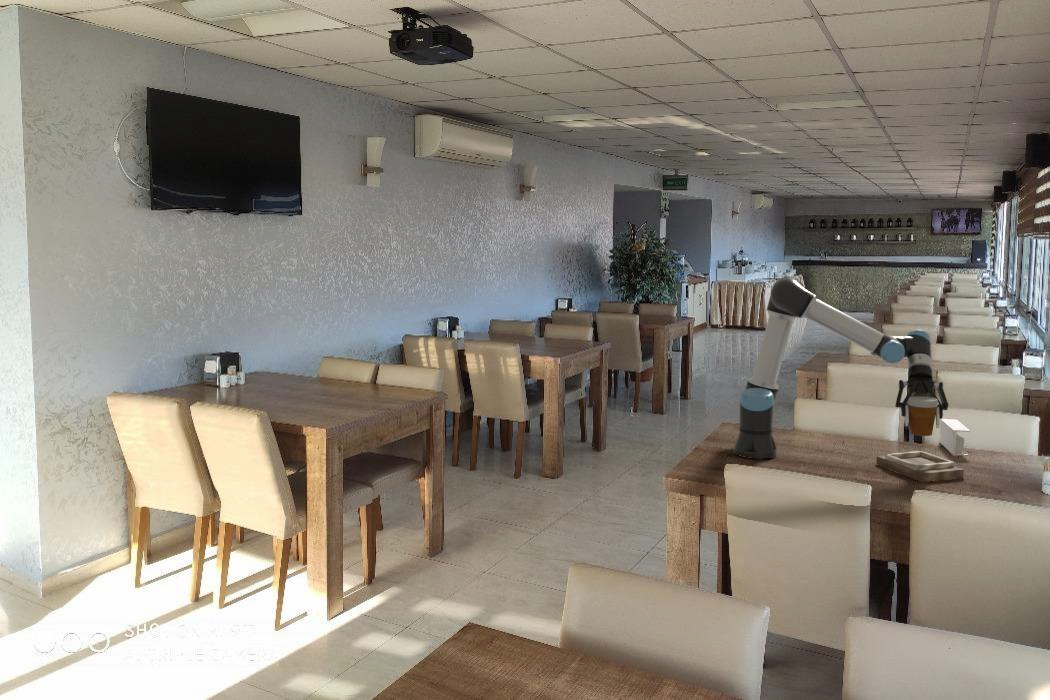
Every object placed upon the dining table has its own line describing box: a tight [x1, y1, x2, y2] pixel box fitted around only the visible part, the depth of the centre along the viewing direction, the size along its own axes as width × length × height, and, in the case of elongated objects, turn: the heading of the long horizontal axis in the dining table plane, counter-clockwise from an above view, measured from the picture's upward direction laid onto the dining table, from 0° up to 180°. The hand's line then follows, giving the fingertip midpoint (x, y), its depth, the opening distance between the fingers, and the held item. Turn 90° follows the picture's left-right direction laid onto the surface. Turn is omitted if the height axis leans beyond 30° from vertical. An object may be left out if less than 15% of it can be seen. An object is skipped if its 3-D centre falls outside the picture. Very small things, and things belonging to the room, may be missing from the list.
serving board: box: [875, 450, 965, 483], centre depth 277 cm, size 16×22×4 cm
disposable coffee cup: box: [907, 395, 939, 437], centre depth 275 cm, size 10×10×12 cm
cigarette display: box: [938, 418, 971, 455], centre depth 306 cm, size 20×6×9 cm, turn 166°
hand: (922, 425), depth 272 cm, fingers closed on disposable coffee cup, 9 cm apart
